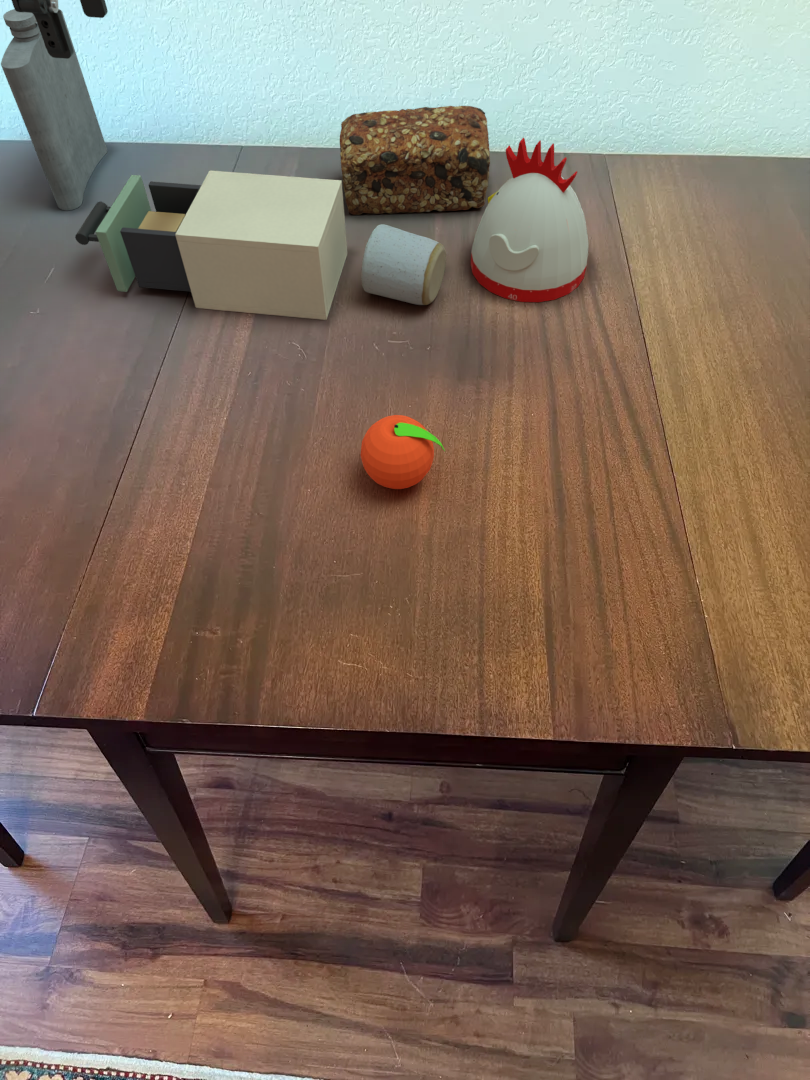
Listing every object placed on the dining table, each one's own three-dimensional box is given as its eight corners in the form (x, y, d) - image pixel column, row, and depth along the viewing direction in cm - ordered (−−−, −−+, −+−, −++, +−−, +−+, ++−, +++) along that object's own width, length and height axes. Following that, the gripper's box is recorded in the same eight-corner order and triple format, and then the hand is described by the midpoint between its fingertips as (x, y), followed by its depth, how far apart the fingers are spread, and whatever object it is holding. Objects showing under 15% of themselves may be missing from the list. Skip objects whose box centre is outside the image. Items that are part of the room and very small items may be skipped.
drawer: (82, 288, 92) (57, 228, 85) (116, 231, 98) (96, 171, 92) (237, 302, 90) (223, 242, 84) (262, 243, 96) (251, 183, 90)
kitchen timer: (499, 220, 100) (511, 100, 88) (601, 250, 96) (628, 128, 84) (451, 281, 93) (457, 159, 81) (559, 315, 89) (583, 193, 77)
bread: (480, 170, 107) (486, 94, 99) (487, 215, 101) (493, 138, 93) (344, 173, 107) (339, 97, 99) (343, 218, 101) (337, 142, 93)
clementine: (448, 455, 78) (451, 403, 72) (438, 509, 74) (440, 460, 68) (370, 445, 78) (366, 394, 73) (355, 499, 74) (350, 449, 69)
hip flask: (78, 210, 102) (15, 44, 86) (48, 210, 103) (-22, 43, 86) (110, 146, 111) (58, -16, 95) (82, 146, 112) (25, -16, 95)
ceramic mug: (427, 320, 89) (429, 262, 83) (361, 305, 91) (357, 246, 85) (456, 268, 95) (459, 209, 89) (393, 254, 97) (392, 195, 90)
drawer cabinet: (195, 308, 91) (174, 234, 83) (225, 243, 98) (209, 170, 90) (326, 320, 89) (318, 246, 82) (347, 254, 97) (341, 180, 89)
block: (146, 267, 92) (134, 233, 88) (158, 244, 95) (148, 210, 91) (182, 270, 92) (173, 236, 88) (194, 248, 94) (185, 213, 91)
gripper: (2, -220, 65) (71, 2, 78) (-84, -169, 57) (10, 68, 70) (88, -217, 64) (143, 6, 78) (14, -165, 56) (89, 74, 70)
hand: (80, 35), depth 74 cm, fingers open, 8 cm apart
